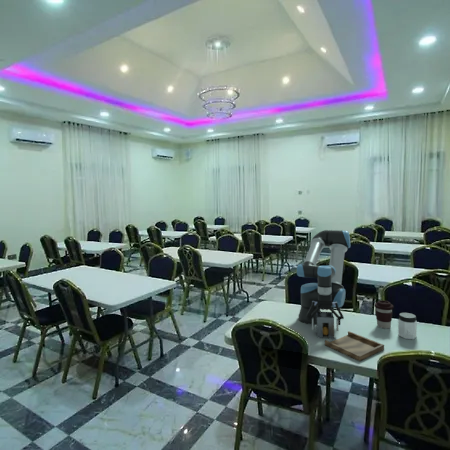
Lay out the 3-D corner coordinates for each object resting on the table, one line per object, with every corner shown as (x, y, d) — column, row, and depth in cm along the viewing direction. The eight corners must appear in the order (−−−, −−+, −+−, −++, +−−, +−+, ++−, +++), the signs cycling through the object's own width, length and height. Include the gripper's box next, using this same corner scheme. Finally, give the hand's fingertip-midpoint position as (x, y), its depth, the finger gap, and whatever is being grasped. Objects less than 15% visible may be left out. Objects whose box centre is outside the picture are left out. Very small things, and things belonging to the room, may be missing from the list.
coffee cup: (392, 331, 185) (392, 305, 184) (373, 328, 191) (373, 303, 189) (393, 325, 194) (394, 300, 192) (375, 322, 199) (375, 298, 198)
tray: (324, 345, 172) (324, 340, 171) (349, 335, 182) (349, 331, 182) (359, 361, 154) (359, 356, 154) (384, 349, 164) (384, 344, 164)
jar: (399, 338, 176) (400, 317, 175) (396, 332, 184) (397, 312, 182) (418, 340, 173) (418, 318, 172) (414, 333, 181) (414, 313, 180)
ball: (319, 334, 185) (319, 326, 184) (324, 332, 187) (324, 324, 187) (325, 337, 181) (325, 329, 180) (331, 335, 183) (331, 327, 183)
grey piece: (317, 337, 181) (317, 317, 180) (316, 331, 189) (316, 311, 188) (334, 338, 179) (334, 317, 178) (332, 332, 187) (332, 312, 186)
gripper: (302, 294, 181) (302, 331, 183) (348, 296, 175) (349, 333, 177) (302, 290, 188) (302, 325, 190) (346, 292, 183) (347, 328, 184)
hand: (325, 329), depth 184 cm, fingers open, 13 cm apart
